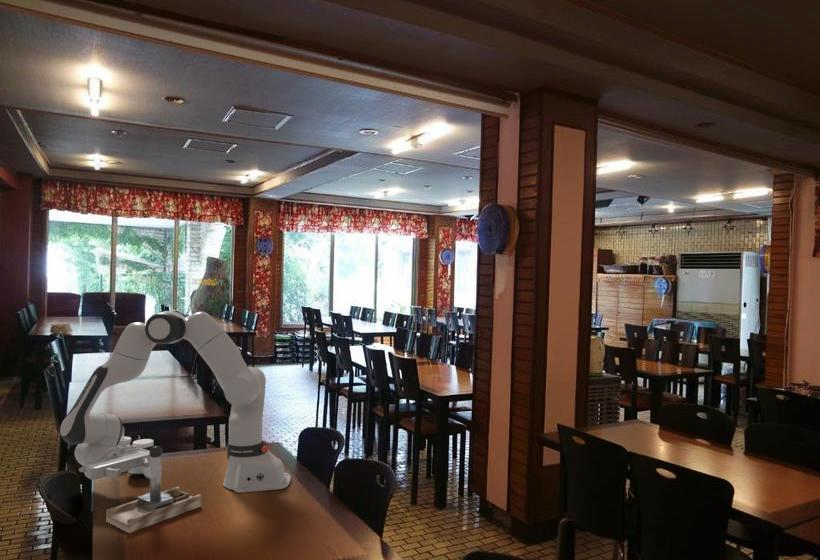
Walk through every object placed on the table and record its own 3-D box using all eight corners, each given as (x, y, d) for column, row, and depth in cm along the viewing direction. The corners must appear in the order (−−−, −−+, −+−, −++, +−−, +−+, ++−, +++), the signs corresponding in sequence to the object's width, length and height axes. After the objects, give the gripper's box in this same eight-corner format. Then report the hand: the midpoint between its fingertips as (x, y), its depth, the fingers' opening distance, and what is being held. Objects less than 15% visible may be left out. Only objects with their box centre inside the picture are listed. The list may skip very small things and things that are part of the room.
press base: (129, 533, 160) (129, 519, 160) (106, 522, 167) (106, 508, 167) (201, 506, 179) (201, 494, 179) (177, 497, 186) (177, 485, 186)
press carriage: (154, 513, 168) (155, 451, 168) (137, 506, 173) (137, 446, 173) (175, 506, 173) (176, 446, 173) (158, 499, 178) (158, 440, 178)
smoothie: (123, 468, 213) (123, 430, 213) (108, 466, 214) (108, 428, 214) (134, 462, 219) (135, 425, 219) (120, 461, 220) (120, 424, 220)
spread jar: (139, 469, 212) (139, 437, 212) (169, 469, 212) (170, 438, 211) (121, 480, 200) (122, 447, 200) (154, 481, 200) (154, 447, 200)
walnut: (182, 498, 180) (182, 485, 180) (178, 503, 176) (178, 490, 176) (168, 498, 179) (169, 485, 179) (164, 503, 175) (164, 490, 175)
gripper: (76, 458, 178) (99, 467, 171) (139, 443, 195) (163, 451, 187) (75, 479, 178) (99, 489, 171) (139, 462, 195) (163, 470, 187)
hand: (133, 469), depth 179 cm, fingers open, 8 cm apart
